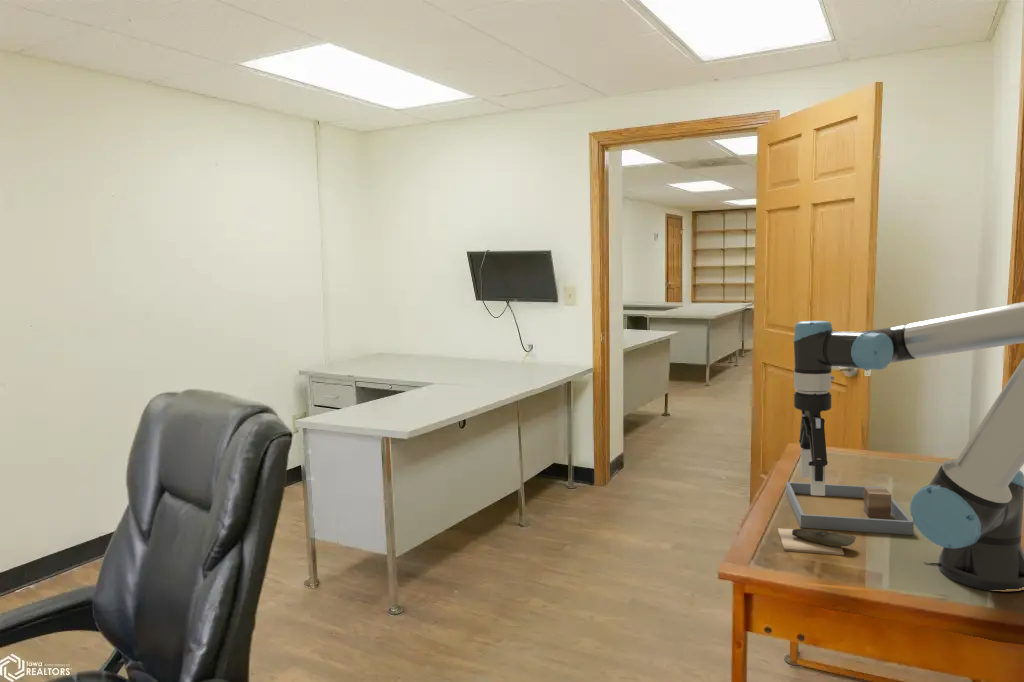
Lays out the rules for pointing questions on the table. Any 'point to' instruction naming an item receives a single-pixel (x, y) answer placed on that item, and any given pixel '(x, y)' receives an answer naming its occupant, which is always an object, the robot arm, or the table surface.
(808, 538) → the stone
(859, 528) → the parts tray
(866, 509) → the walnut block
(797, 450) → the table surface
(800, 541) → the cork pad
